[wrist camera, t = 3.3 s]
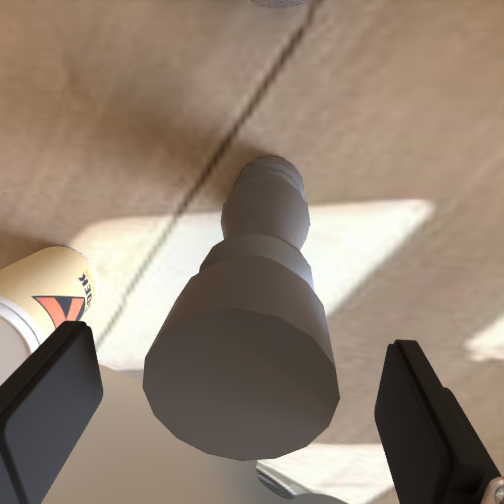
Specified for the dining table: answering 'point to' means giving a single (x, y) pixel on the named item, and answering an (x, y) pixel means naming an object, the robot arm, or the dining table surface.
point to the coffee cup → (41, 300)
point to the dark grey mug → (277, 3)
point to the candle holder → (248, 332)
